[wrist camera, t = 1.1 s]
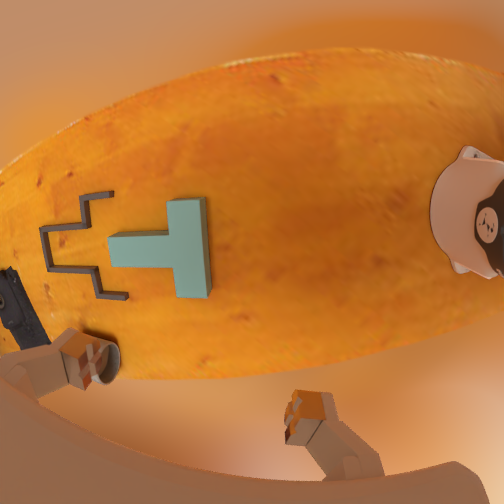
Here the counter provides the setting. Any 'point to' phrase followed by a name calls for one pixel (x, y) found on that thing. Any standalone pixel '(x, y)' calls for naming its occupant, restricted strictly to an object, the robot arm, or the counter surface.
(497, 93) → the counter surface
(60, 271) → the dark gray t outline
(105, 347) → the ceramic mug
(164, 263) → the teal T block
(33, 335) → the dark slate chunk
